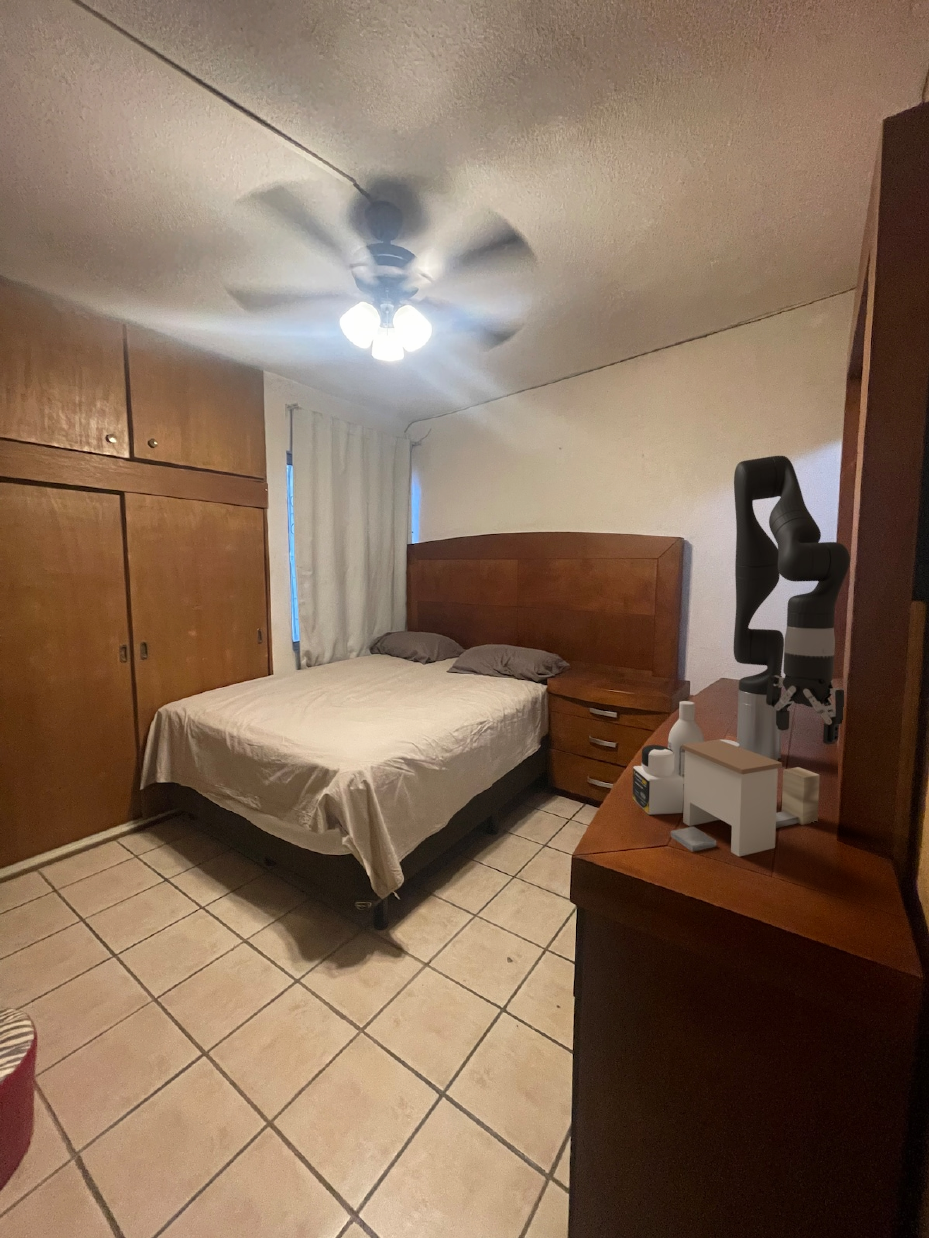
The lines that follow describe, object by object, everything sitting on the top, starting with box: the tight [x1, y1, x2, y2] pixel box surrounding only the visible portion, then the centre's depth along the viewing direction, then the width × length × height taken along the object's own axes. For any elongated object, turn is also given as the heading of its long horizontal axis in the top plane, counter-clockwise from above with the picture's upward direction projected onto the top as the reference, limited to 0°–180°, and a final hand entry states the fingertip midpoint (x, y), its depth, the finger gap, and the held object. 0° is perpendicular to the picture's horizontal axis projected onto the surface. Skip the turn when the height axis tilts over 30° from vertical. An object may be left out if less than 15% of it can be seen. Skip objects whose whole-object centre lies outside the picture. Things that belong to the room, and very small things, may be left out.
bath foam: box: [667, 700, 705, 802], centre depth 99 cm, size 7×7×20 cm
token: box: [670, 825, 717, 853], centre depth 81 cm, size 5×5×2 cm
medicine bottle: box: [632, 744, 684, 816], centre depth 94 cm, size 7×7×12 cm
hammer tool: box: [776, 766, 821, 829], centre depth 87 cm, size 16×4×9 cm, turn 109°
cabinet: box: [682, 739, 783, 857], centre depth 83 cm, size 9×13×15 cm
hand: (805, 736), depth 88 cm, fingers open, 8 cm apart
